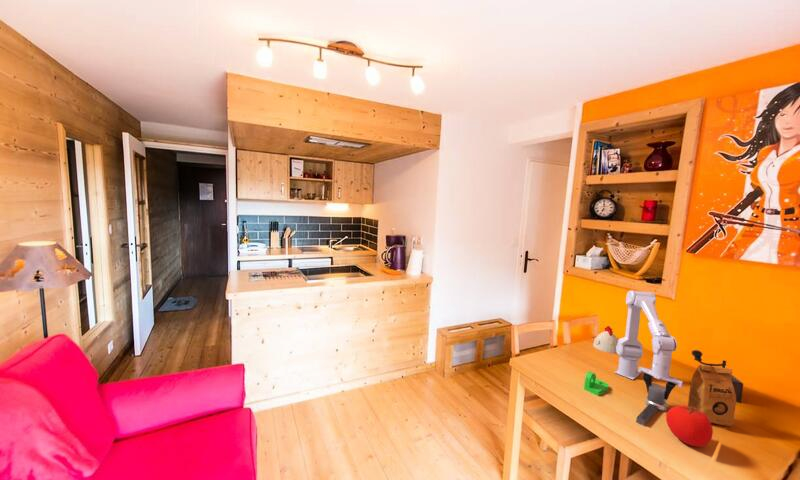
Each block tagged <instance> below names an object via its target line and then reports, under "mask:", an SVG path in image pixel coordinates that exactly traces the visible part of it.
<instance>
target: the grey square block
mask: <svg viewBox="0 0 800 480" xmlns="http://www.w3.org/2000/svg"><path fill="white" fill-rule="evenodd" d="M665 393H666V386H664V385H661V384H659V383H656V382H653V381H652V383H651V385H650V386H649V390H648V392H647V397H648V398H647V400H650V401H652V402H655V403H657V404H660V405H662V406H663V405H664V404H665V402H666V403H667V400H665Z"/></svg>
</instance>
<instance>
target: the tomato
mask: <svg viewBox="0 0 800 480" xmlns="http://www.w3.org/2000/svg"><path fill="white" fill-rule="evenodd" d="M666 412H667V413H666V415H665V418H666V419H665V421H666V423H667V426H668V428H669V430H670V432H671V433H672V434H673V435H674V436H675V437H676V438H677V439H678V440H680V441H682V442H683V443H684V444H687V445H690V446H692V447H697V448H699V447H704V446H707V445H708V444H709V443H710V442H711V441H712V439H713V434H714V430H713V426H712V423H710V421H709V419H708V417H707V416H706V415H705V414H704V413H703V412H701V411H699V410H698V409H695V408H693V407H690V406H689V405H688V404H687V405H685V404H684V405H676V406H674V407H671V408H670V409H669V410H667V411H666Z"/></svg>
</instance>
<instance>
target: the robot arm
mask: <svg viewBox="0 0 800 480" xmlns="http://www.w3.org/2000/svg"><path fill="white" fill-rule="evenodd" d="M656 303H657V297H656V295H655V293H654V292H653V291H639V290H633V289H632V290H629V291H628V292H627V293H626V297H625V305H626V306H628V307H627V317H626V324H625V325H626V326H625V335H624V337H621V338H619V339H618V343H617V345H616V351H617V355H618V356H619V359H618V369H617V370H616V371H614V374H616V375H619V376H623V377H625V378H628V379H631V380H635V379H636V378H637V377H638V376H639V375H640V374H643V375H642V379H643V381H644V382H645V386H646V393H648V390H649V386H650V385H651V383H652V382H653V378H655V379H656V380H661V381H665V382H666V384H665V387H666V393H665V400H666V401H667V400H668V399H669V396H670V394H671V392H672V390H673V389H675V387H676V386H677V387H679V388H682V387H683V386H684V381H683V380H680V379H677V378H675V377H674V376H671V375H670V373H671V372H670V371H671V365H672V354H673V352H675V351H676V350H677V349H678V348H677V347H678V343H677V339H676V338H675V337H674V336H672V335H671V334H669V331H668V329H667V328H666V325H665V323H664V321H663V320H661V319H660V318H659V316H658V312H657V309H656V307H655V306H656ZM641 310H642V311H643V312H644V314H645V316H646V319H648V321H649V322H648V323H647V326H648V329H649V332H650V334H651V337H652V339H651V346H652V352H653V354H652V355H653V356H652V363H651V369H649V368H646V367H642V366H639V361H640V359H641V358H642V357H643V355H644V349H643V343H642V342H641V341H640V340H638V338H639V329H640V322H641V320H640V319H641V312H642V311H641Z"/></svg>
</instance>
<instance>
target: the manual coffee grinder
mask: <svg viewBox="0 0 800 480" xmlns="http://www.w3.org/2000/svg"><path fill="white" fill-rule="evenodd" d="M691 355H692V356H693V357H694V359H693V360H695V361H697V362H698V363H699V364H700V365H707V366H715V367H722V368H726V366H727V360H722V363H707V362H704V361H703V359H702V356H703V352H702V351H700V350H699V349H693V350H692V351H691ZM730 376H731V379H732V384H733V386H734V390H735V394H736V403H740V404H742V397H743V389H744V383H743V382H742V381H740V380H739V379H738V377H736V376H734V375H733V373H732V374H730Z"/></svg>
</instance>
